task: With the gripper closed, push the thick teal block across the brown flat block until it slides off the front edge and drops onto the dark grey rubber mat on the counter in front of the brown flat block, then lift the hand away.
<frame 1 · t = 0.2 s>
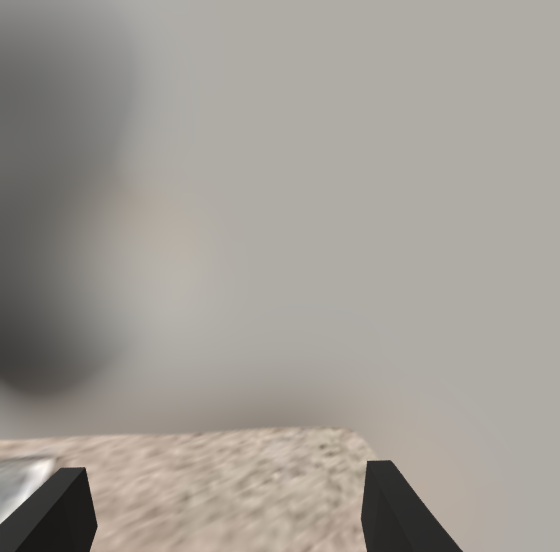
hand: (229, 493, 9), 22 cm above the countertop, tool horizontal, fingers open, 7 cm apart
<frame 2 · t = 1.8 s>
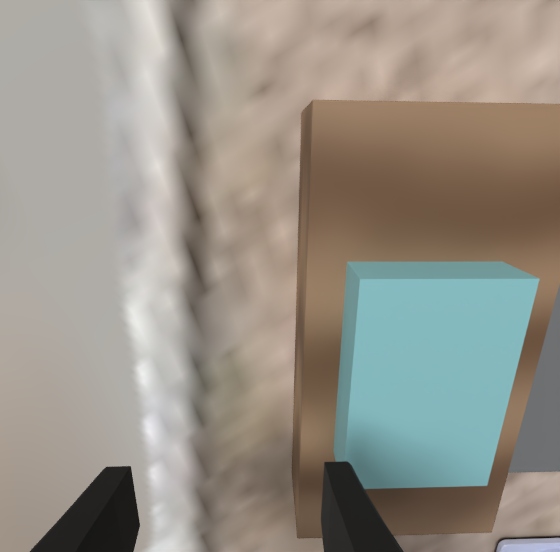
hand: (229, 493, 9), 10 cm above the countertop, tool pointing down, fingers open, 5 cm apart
thick teal block: (410, 364, 15), point 4 cm above the countertop, touching brown flat block
brown flat block: (391, 322, 19), on the countertop
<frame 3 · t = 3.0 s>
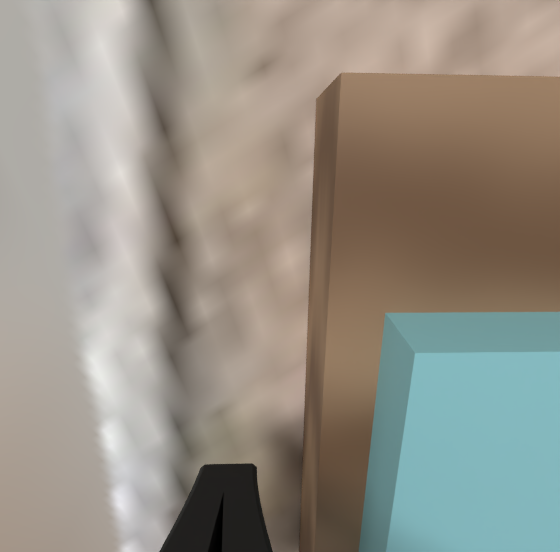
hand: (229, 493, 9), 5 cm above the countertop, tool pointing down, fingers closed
thick teal block: (468, 448, 11), point 4 cm above the countertop, touching brown flat block
brown flat block: (428, 372, 15), on the countertop
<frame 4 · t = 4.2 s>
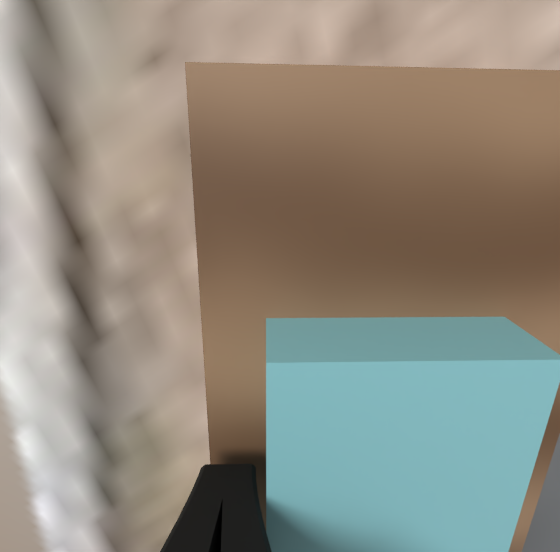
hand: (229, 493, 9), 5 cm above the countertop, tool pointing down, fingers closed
thick teal block: (370, 459, 11), point 4 cm above the countertop, touching gripper
brown flat block: (353, 377, 14), on the countertop
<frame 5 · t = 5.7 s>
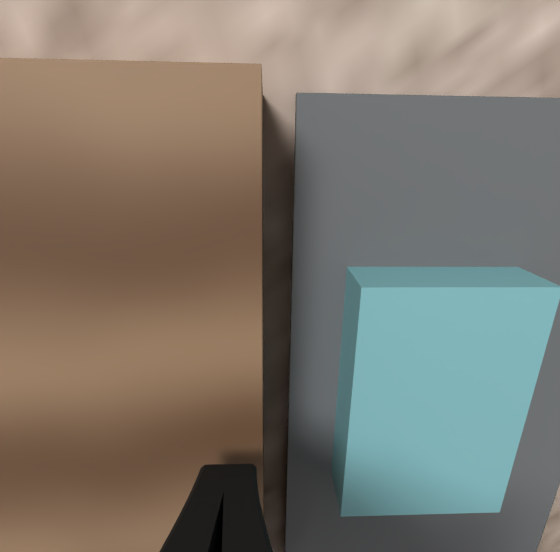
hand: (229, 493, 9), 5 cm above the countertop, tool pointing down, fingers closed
thick teal block: (439, 414, 12), point 2 cm above the countertop, tilted 180°, touching mat
brown flat block: (132, 380, 14), on the countertop
mat: (440, 376, 14), on the countertop
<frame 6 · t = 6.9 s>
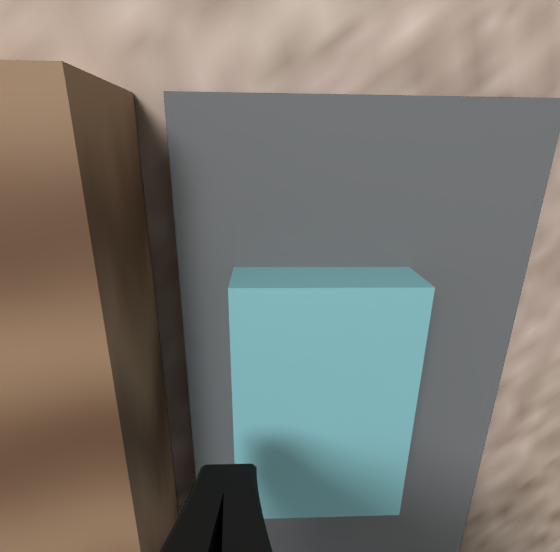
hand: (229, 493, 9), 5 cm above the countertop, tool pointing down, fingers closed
thick teal block: (324, 416, 12), point 2 cm above the countertop, tilted 180°, touching mat
brown flat block: (30, 382, 14), on the countertop
mat: (344, 378, 14), on the countertop
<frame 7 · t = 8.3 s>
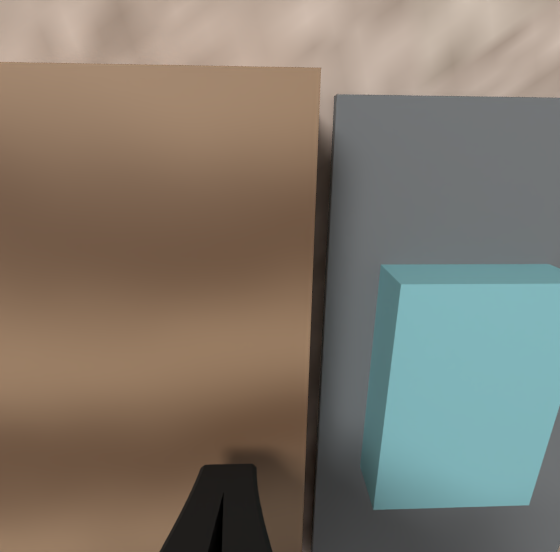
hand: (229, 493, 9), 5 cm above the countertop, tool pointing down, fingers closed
thick teal block: (473, 408, 12), point 2 cm above the countertop, tilted 180°, touching mat
brown flat block: (167, 377, 14), on the countertop
mat: (468, 372, 15), on the countertop
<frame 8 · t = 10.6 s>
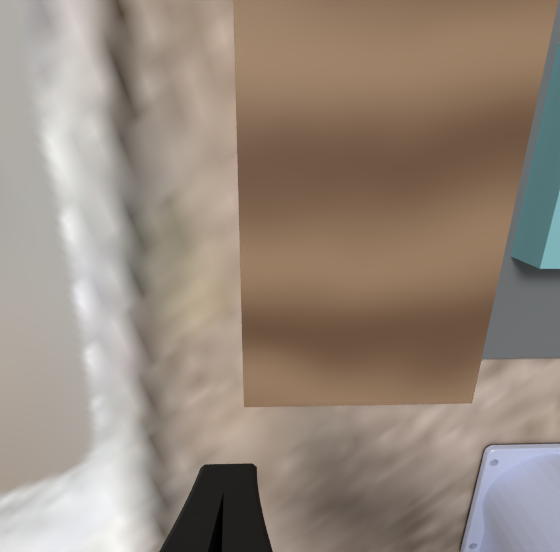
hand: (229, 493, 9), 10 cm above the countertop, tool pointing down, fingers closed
brown flat block: (355, 161, 16), on the countertop
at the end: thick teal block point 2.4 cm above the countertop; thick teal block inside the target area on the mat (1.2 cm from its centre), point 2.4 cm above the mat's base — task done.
